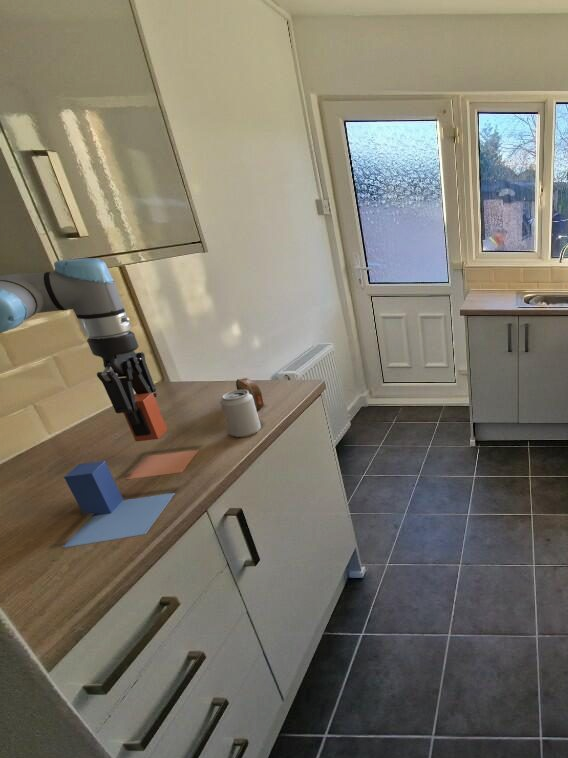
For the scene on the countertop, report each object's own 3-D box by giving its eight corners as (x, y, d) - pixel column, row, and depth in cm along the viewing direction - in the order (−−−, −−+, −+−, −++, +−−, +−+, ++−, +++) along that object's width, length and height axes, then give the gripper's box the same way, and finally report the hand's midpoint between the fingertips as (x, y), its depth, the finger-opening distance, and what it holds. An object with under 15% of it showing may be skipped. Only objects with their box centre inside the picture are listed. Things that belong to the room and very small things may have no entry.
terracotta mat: (122, 481, 96) (121, 480, 96) (144, 457, 105) (144, 456, 104) (182, 473, 99) (181, 471, 99) (199, 451, 108) (198, 449, 107)
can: (267, 426, 119) (257, 389, 114) (248, 440, 112) (236, 400, 107) (245, 424, 120) (233, 387, 115) (224, 437, 114) (211, 398, 109)
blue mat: (56, 550, 77) (56, 548, 77) (99, 505, 88) (99, 503, 88) (145, 535, 80) (145, 534, 80) (176, 494, 92) (175, 492, 92)
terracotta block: (135, 441, 96) (118, 403, 92) (145, 432, 100) (130, 394, 96) (158, 439, 97) (142, 400, 93) (167, 429, 101) (152, 392, 97)
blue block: (84, 517, 84) (63, 476, 80) (98, 503, 88) (78, 464, 84) (111, 513, 85) (91, 473, 81) (123, 499, 89) (105, 460, 85)
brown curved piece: (239, 400, 135) (232, 376, 131) (249, 397, 137) (243, 373, 134) (257, 414, 126) (250, 389, 123) (268, 411, 128) (261, 386, 125)
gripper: (106, 345, 81) (148, 446, 91) (151, 322, 97) (183, 410, 106) (59, 348, 79) (107, 451, 89) (113, 324, 95) (149, 414, 104)
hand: (148, 429), depth 98 cm, fingers closed on terracotta block, 4 cm apart
